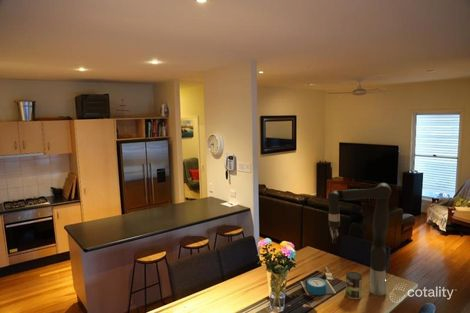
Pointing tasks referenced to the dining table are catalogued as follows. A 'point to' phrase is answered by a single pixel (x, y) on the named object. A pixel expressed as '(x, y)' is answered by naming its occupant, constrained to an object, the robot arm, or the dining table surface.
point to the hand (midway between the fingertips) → (334, 243)
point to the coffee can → (354, 285)
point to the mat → (328, 291)
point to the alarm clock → (316, 286)
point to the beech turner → (328, 274)
